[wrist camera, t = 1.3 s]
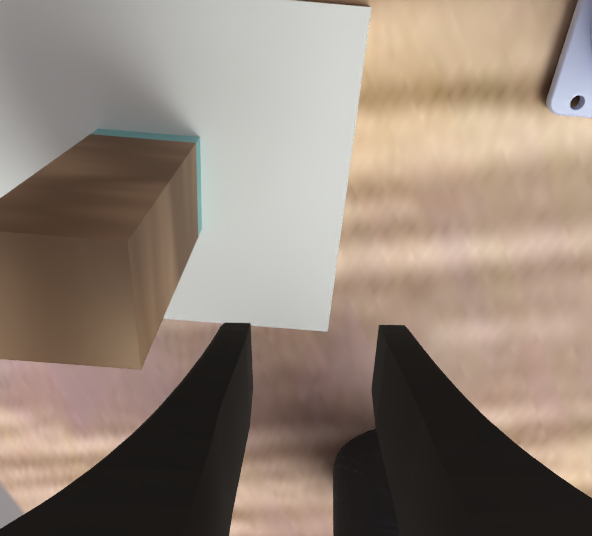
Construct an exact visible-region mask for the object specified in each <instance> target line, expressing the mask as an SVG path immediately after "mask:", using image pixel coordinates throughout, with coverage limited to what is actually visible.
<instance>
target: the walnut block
mask: <svg viewBox="0 0 592 536" xmlns="http://www.w3.org/2000/svg"><path fill="white" fill-rule="evenodd" d="M201 230H202V206H201V156H200V137H194V136H182V135H170V134H158V133H146V132H134V131H122V130H110V129H97V130H95V131H94V132H92V133H91V134H90V135H88V136H87V137H85V138H84V139H83V140H81V141H80V142H78V143H77V144H76V145H74V146H73V147H71V148H70V149H69V150H67V151H66V152H64V153H63V154H61V155H60V156H59V157H57V158H56V159H54V160H53V161H52V162H50V163H49V164H47V165H46V166H45V167H43V168H42V169H40V170H39V171H38V172H36V173H35V174H33V175H32V176H31V177H29V178H28V179H26V180H25V181H24V182H22V183H21V184H19V185H18V186H17V187H15V188H14V189H12V190H11V191H10V192H8V193H7V194H5V195H4V196H2V197H1V198H0V359H8V360H21V361H34V362H48V363H61V364H74V365H87V366H100V367H114V368H127V369H140V370H141V368H142V366H143V364H144V361H145V359H146V357H147V354H148V352H149V350H150V347H151V345H152V343H153V340H154V338H155V336H156V334H157V331H158V329H159V327H160V324H161V322H162V320H163V317H164V315H165V313H166V310H167V308H168V306H169V304H170V301H171V299H172V297H173V294H174V292H175V290H176V287H177V285H178V283H179V281H180V278H181V276H182V274H183V271H184V269H185V267H186V264H187V262H188V260H189V257H190V255H191V253H192V251H193V248H194V246H195V244H196V241H197V239H198V237H199V234H200V232H201Z"/></svg>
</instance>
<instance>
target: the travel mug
mask: <svg viewBox="0 0 592 536" xmlns="http://www.w3.org/2000/svg"><path fill="white" fill-rule="evenodd" d="M333 533H334V536H400V534H399V528H398V523H397V518H396V513H395V509H394V504H393V500H392V496H391V491H390V487H389V483H388V479H387V474H386V470H385V466H384V461H383V457H382V453H381V448H380V444H379V440H378V435H377V431H376V430H372V431H369V432H367V433H364V434H362V435H360V436H358V437H356V438H354V439H353V440H351V441H350V442H349V443H348V444H346V445H345V446H344V447H343V448H342V450H341V451H340V452H339V454H338V456H337V458H336V461H335V464H334V474H333Z"/></svg>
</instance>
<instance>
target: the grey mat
mask: <svg viewBox="0 0 592 536" xmlns="http://www.w3.org/2000/svg"><path fill="white" fill-rule="evenodd" d="M370 14H371V7H366V6H355V5H344V4H332V3H321V2H309V1H298V0H0V198H1V197H2V196H4V195H5V194H7V193H8V192H10V191H11V190H12V189H14V188H15V187H17V186H18V185H19V184H21V183H22V182H24V181H25V180H26V179H28V178H29V177H31V176H32V175H33V174H35V173H36V172H38V171H39V170H40V169H42V168H43V167H45V166H46V165H47V164H49V163H50V162H52V161H53V160H54V159H56V158H57V157H59V156H60V155H61V154H63V153H64V152H66V151H67V150H69V149H70V148H71V147H73V146H74V145H76V144H77V143H78V142H80V141H81V140H83V139H84V138H85V137H87V136H88V135H90V134H91V133H92V132H94V131H95V130H97V129H110V130H122V131H134V132H146V133H158V134H170V135H182V136H194V137H200V156H201V206H202V230H201V232H200V234H199V237H198V239H197V241H196V244H195V246H194V248H193V251H192V253H191V255H190V257H189V260H188V262H187V264H186V267H185V269H184V271H183V274H182V276H181V278H180V281H179V283H178V285H177V287H176V290H175V292H174V294H173V297H172V299H171V301H170V304H169V306H168V308H167V310H166V313H165V315H164V317H163V319H172V320H185V321H198V322H211V323H250V324H251V326H262V327H275V328H288V329H301V330H314V331H327V332H328V325H329V317H330V310H331V302H332V295H333V288H334V280H335V273H336V265H337V258H338V251H339V243H340V236H341V228H342V221H343V214H344V206H345V199H346V191H347V184H348V177H349V169H350V162H351V154H352V147H353V140H354V132H355V125H356V117H357V110H358V103H359V95H360V88H361V80H362V73H363V66H364V58H365V51H366V43H367V36H368V29H369V21H370Z"/></svg>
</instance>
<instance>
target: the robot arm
mask: <svg viewBox="0 0 592 536" xmlns="http://www.w3.org/2000/svg"><path fill="white" fill-rule="evenodd" d="M578 95H579V96H580V101H579V103H578V105H576V106H575V107H572V108H571V107H570V102H571V100H572V98H574V97H575V96H578ZM546 105H547V108H548V109H549V110H550V111H551V112H552V113H554V114H557V115H564V116H576V117H588V118H592V0H578V2H577V5H576V8H575V11H574V14H573V18H572V21H571V24H570V27H569V30H568V33H567V36H566V40H565V43H564V46H563V49H562V52H561V55H560V58H559V62H558V65H557V68H556V71H555V74H554V77H553V81H552V84H551V87H550V90H549V93H548V96H547V101H546ZM252 393H253V374H252V349H251V324H250V323H224V324H223V325H222V326H221V327H220V329H219V330H218V332H217V334H216V335H215V337H214V338H213V340H212V341H211V343H210V344H209V346H208V347H207V349H206V350H205V352H204V353H203V354H202V356H201V357H200V359H199V360H198V361H197V362H196V364H195V365H194V366H193V368H192V369H191V370H190V372H189V373H188V374H187V375H186V377H185V378H184V379H183V381H182V382H181V383H180V384H179V385H178V386H177V388H176V389H175V390H174V391H173V392H172V393H171V394H170V396H169V397H168V398H167V399H166V400H165V401H164V402H163V404H162V405H161V406H160V407H159V408H158V409H157V410H156V411H155V412H154V413H153V414H152V415H151V416H150V417H149V418H148V419H147V420H146V421H145V422H144V423H143V424H142V425H141V426H140V427H139V428H138V429H137V430H136V431H135V432H134V433H133V434H132V435H130V436H129V437H128V438H127V439H126V440H125V441H124V442H122V443H121V444H120V445H119V446H118V447H117V448H116V449H114V450H113V451H112V452H111V453H110V454H109V455H108V456H106V457H105V458H104V459H103V460H101V461H100V462H99V463H98V464H96V465H95V466H94V467H93V468H91V469H90V470H89V471H87V472H86V473H85V474H83V475H82V476H80V477H79V478H78V479H76V480H75V481H74V482H72V483H71V484H69V485H68V486H67V487H65V488H64V489H63V490H61V491H60V492H58V493H57V494H55V495H54V496H52V497H51V498H49V499H48V500H46V501H45V502H43V503H42V504H40V505H39V506H37V507H35V508H34V509H32V510H30V511H29V512H27V513H26V514H24V515H22V516H21V517H19V518H17V519H16V520H14V521H13V522H11V523H9V524H8V525H6V526H4V527H3V528H1V529H0V536H229V532H230V525H231V519H232V512H233V507H234V502H235V497H236V492H237V487H238V482H239V477H240V472H241V467H242V462H243V457H244V452H245V447H246V442H247V437H248V432H249V427H250V417H251V406H252ZM372 397H373V407H374V416H375V425H376V431H377V435H378V440H379V444H380V448H381V453H382V457H383V461H384V466H385V470H386V474H387V479H388V483H389V487H390V491H391V496H392V500H393V504H394V509H395V513H396V518H397V523H398V528H399V534H400V536H592V498H591V497H589V496H588V495H586V494H584V493H583V492H581V491H580V490H578V489H577V488H575V487H574V486H572V485H571V484H569V483H568V482H567V481H565V480H564V479H562V478H561V477H559V476H558V475H556V474H555V473H554V472H552V471H551V470H550V469H548V468H547V467H546V466H544V465H543V464H542V463H540V462H539V461H537V460H536V459H535V458H533V457H532V456H531V455H529V454H528V453H527V452H526V451H524V450H523V449H522V448H521V447H519V446H518V445H517V444H516V443H514V442H513V441H512V440H511V439H510V438H509V437H507V436H506V435H505V434H504V433H503V432H502V431H500V430H499V429H498V428H497V427H496V426H495V425H493V424H492V423H491V422H490V421H489V420H488V419H487V418H486V417H485V416H484V415H483V414H482V413H480V411H479V410H478V409H477V408H476V407H475V406H474V405H473V404H472V403H471V402H470V401H469V400H468V399H467V398H466V397H465V396H464V395H463V394H462V393H461V392H460V391H459V390H458V389H457V388H456V387H455V385H454V384H453V383H452V382H451V381H450V380H449V379H448V378H447V376H446V375H445V374H444V373H443V372H442V371H441V370H440V368H439V367H438V366H437V365H436V364H435V362H434V361H433V360H432V359H431V358H430V356H429V355H428V354H427V353H426V351H425V350H424V349H423V348H422V346H421V345H420V344H419V343H418V341H417V340H416V339H415V337H414V336H413V335H412V334H411V332H410V331H409V330H408V329H407V328H406V326H405V325H379V330H378V339H377V348H376V356H375V365H374V373H373V382H372Z"/></svg>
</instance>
